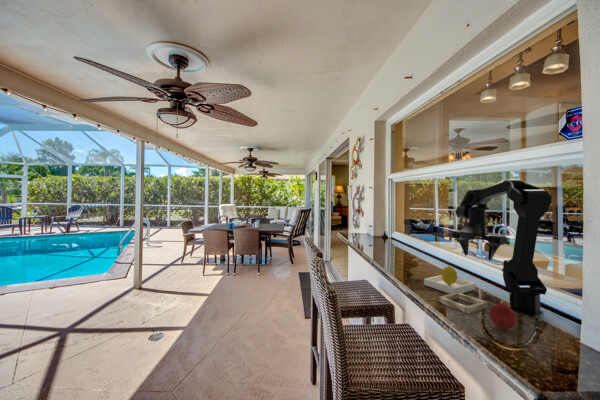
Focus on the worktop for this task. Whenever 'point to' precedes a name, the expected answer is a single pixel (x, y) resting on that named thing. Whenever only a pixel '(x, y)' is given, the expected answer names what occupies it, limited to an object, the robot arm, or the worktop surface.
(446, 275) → the lemon
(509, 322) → the onion
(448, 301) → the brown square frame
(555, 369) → the worktop surface
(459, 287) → the dish
